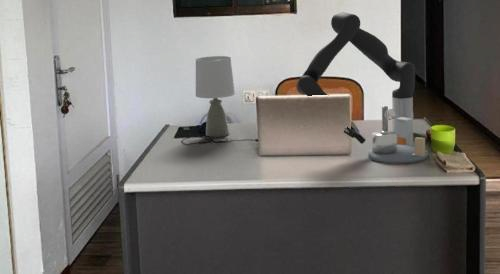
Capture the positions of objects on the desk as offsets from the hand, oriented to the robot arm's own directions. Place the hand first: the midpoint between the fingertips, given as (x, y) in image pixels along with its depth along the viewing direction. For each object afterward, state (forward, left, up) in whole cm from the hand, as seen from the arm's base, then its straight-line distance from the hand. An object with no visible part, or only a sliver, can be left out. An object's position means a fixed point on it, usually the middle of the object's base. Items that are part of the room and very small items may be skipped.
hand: (363, 142), depth 314 cm
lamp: (+2, -81, -6) cm, 82 cm away
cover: (-4, +8, -4) cm, 9 cm away
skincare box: (-24, +6, -6) cm, 25 cm away
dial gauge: (-14, +3, -6) cm, 16 cm away
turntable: (-6, +13, -6) cm, 15 cm away
